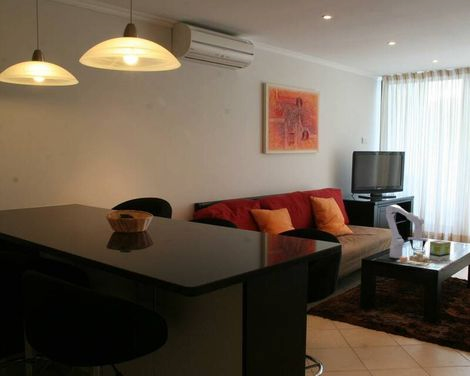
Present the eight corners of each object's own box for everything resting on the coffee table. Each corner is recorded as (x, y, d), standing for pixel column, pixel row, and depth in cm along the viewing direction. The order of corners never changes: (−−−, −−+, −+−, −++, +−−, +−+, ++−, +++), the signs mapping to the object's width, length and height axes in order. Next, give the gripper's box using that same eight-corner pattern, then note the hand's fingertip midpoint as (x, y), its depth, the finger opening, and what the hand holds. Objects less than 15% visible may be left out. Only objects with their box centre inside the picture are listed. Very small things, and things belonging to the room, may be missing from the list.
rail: (397, 261, 376) (397, 260, 376) (401, 260, 382) (401, 259, 382) (425, 266, 361) (425, 265, 361) (428, 264, 367) (428, 263, 367)
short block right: (423, 262, 374) (423, 257, 374) (424, 261, 377) (425, 257, 377) (428, 263, 371) (428, 258, 371) (430, 262, 374) (430, 257, 374)
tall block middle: (416, 261, 378) (416, 253, 377) (418, 260, 381) (418, 252, 380) (421, 262, 375) (421, 254, 375) (423, 261, 378) (423, 253, 378)
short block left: (409, 260, 381) (409, 255, 381) (411, 259, 384) (411, 255, 384) (414, 261, 379) (414, 256, 379) (416, 260, 382) (416, 255, 382)
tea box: (440, 261, 379) (440, 243, 378) (428, 259, 387) (429, 241, 386) (450, 259, 388) (451, 241, 387) (438, 256, 396) (439, 239, 395)
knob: (400, 260, 375) (400, 257, 375) (402, 259, 378) (402, 256, 378) (405, 261, 372) (405, 257, 372) (407, 260, 376) (407, 256, 376)
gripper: (408, 232, 377) (407, 249, 378) (427, 234, 371) (426, 251, 372) (408, 231, 383) (408, 248, 385) (428, 233, 378) (427, 249, 379)
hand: (417, 249), depth 379 cm, fingers open, 7 cm apart
